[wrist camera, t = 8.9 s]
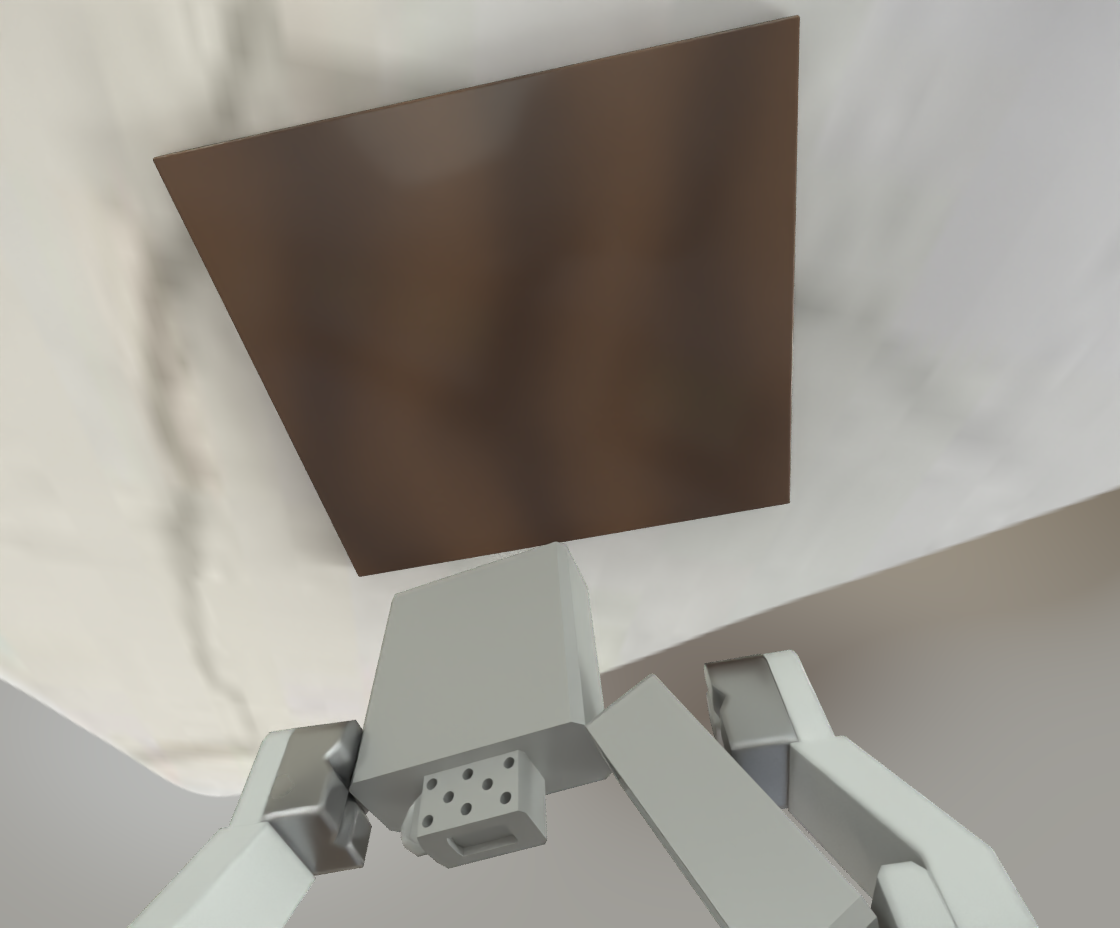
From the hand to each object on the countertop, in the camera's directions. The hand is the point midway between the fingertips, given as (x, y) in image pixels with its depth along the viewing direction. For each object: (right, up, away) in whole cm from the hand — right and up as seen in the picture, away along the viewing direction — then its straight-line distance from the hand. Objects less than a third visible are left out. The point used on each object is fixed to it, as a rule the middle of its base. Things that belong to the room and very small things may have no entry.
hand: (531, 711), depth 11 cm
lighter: (0, +2, +3) cm, 4 cm away
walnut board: (-1, +9, +13) cm, 16 cm away
